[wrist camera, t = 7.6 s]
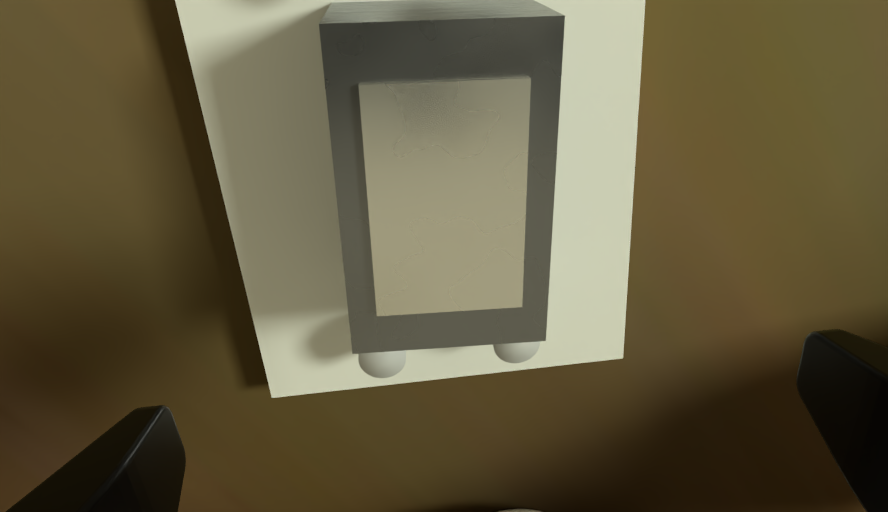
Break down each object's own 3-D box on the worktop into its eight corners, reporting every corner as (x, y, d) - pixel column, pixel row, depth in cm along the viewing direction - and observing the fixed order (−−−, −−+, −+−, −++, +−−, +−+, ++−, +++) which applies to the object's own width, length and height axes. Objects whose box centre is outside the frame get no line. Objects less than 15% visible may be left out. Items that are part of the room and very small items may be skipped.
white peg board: (639, -195, 16) (694, -221, 14) (611, 338, 24) (643, 395, 21) (151, -158, 16) (101, -176, 13) (276, 375, 23) (262, 439, 20)
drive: (526, -4, 17) (567, 16, 13) (517, 269, 21) (547, 345, 17) (332, 2, 17) (317, 25, 13) (357, 278, 20) (351, 358, 17)
